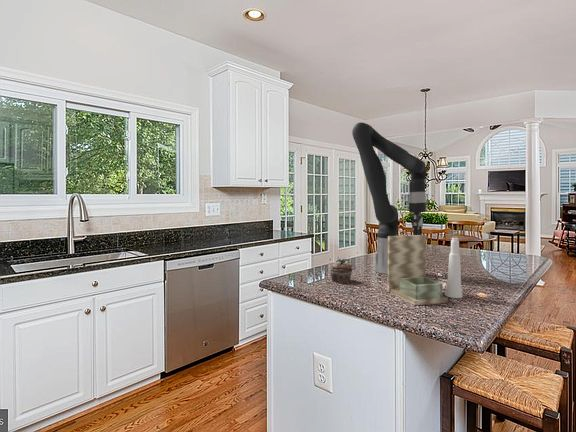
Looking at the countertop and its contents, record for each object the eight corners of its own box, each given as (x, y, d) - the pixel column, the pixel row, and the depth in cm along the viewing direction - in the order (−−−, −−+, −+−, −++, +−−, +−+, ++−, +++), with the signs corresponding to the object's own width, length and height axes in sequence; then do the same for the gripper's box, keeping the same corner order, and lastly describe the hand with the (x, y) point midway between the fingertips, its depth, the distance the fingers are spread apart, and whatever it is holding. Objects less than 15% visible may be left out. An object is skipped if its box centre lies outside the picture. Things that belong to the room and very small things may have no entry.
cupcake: (346, 278, 165) (346, 256, 165) (355, 283, 156) (355, 260, 155) (326, 279, 163) (326, 257, 162) (334, 284, 154) (334, 261, 153)
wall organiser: (413, 305, 124) (414, 242, 123) (387, 291, 142) (387, 236, 140) (453, 302, 127) (454, 240, 126) (423, 289, 145) (424, 234, 144)
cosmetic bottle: (451, 293, 139) (452, 236, 138) (466, 296, 134) (467, 238, 133) (441, 295, 136) (442, 237, 135) (456, 299, 131) (457, 239, 129)
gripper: (411, 202, 175) (412, 235, 175) (406, 202, 162) (406, 238, 162) (428, 201, 171) (428, 235, 171) (423, 201, 158) (424, 238, 159)
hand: (417, 236), depth 167 cm, fingers open, 8 cm apart
